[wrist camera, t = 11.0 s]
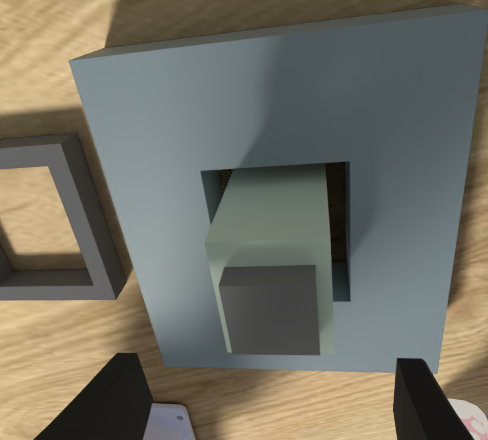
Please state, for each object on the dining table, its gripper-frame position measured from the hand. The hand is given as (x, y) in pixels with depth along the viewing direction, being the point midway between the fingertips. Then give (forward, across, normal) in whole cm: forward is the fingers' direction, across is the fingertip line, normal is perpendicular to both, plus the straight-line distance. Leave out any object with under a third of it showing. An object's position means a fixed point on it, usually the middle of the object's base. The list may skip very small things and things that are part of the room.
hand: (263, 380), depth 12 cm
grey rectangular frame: (+10, +14, 0) cm, 17 cm away
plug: (+10, 0, 0) cm, 10 cm away
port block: (+10, 0, 0) cm, 10 cm away
